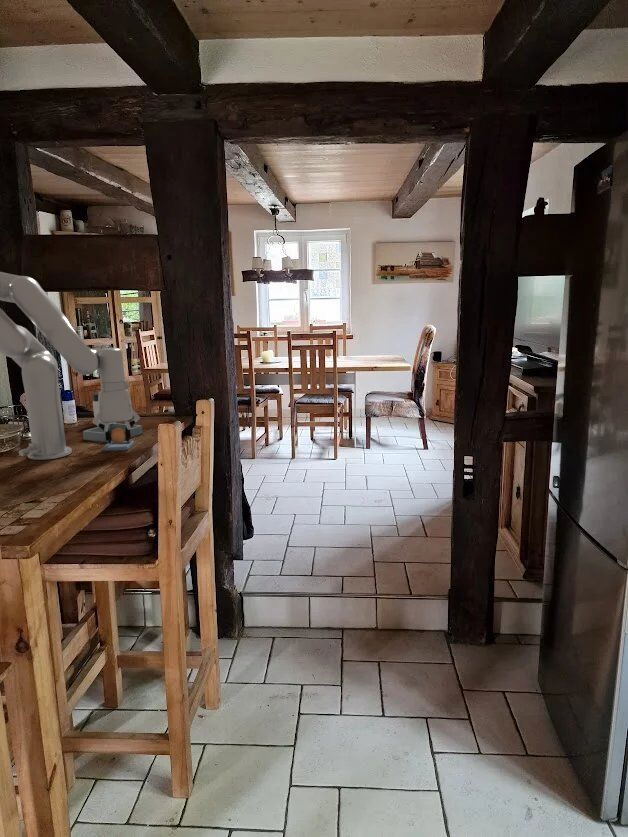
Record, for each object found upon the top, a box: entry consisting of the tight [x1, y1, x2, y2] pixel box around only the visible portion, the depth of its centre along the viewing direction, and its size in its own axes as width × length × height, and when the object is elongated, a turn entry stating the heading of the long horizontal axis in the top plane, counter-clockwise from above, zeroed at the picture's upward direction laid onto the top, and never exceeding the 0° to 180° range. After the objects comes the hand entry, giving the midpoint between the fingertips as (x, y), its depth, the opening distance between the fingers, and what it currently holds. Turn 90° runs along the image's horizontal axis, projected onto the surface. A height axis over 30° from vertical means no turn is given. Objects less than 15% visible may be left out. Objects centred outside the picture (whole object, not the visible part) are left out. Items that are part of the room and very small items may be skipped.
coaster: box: [102, 440, 136, 452], centre depth 183 cm, size 8×8×1 cm
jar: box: [91, 391, 118, 425], centre depth 218 cm, size 9×8×12 cm
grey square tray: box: [82, 422, 144, 443], centre depth 197 cm, size 14×14×3 cm
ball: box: [110, 428, 126, 443], centre depth 182 cm, size 5×5×5 cm
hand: (118, 441), depth 182 cm, fingers closed on ball, 4 cm apart
